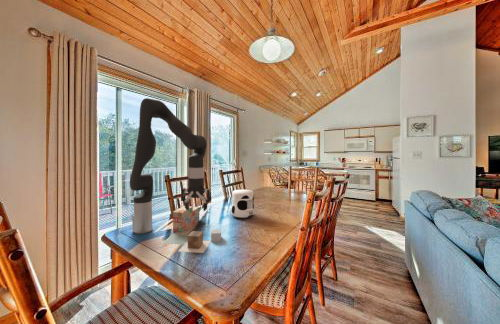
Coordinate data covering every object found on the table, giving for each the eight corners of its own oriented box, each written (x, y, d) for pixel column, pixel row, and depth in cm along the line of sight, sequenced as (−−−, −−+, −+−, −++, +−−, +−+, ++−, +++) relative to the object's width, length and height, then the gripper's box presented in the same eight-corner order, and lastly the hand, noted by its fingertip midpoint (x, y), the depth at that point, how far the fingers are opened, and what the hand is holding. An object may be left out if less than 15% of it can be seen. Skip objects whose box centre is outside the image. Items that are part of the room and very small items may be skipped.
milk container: (233, 211, 151) (234, 188, 150) (256, 213, 149) (256, 189, 148) (228, 219, 134) (228, 193, 133) (253, 221, 132) (253, 194, 131)
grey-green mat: (161, 244, 98) (161, 243, 98) (172, 234, 109) (172, 233, 108) (183, 245, 97) (183, 244, 97) (191, 236, 108) (191, 234, 107)
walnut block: (187, 248, 93) (187, 235, 93) (192, 242, 98) (192, 231, 98) (199, 248, 92) (199, 236, 92) (203, 243, 98) (203, 231, 98)
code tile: (178, 252, 90) (178, 251, 90) (188, 240, 102) (188, 239, 102) (203, 254, 89) (203, 252, 89) (211, 241, 101) (211, 240, 101)
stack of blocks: (191, 219, 133) (190, 201, 132) (199, 220, 132) (199, 202, 131) (172, 232, 112) (172, 211, 111) (182, 233, 111) (182, 212, 110)
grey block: (211, 243, 100) (211, 233, 100) (211, 238, 105) (211, 229, 104) (221, 242, 101) (221, 233, 100) (220, 238, 106) (220, 229, 105)
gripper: (178, 177, 91) (178, 211, 92) (208, 178, 90) (208, 213, 91) (185, 175, 98) (185, 207, 99) (212, 176, 97) (212, 208, 98)
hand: (196, 210), depth 95 cm, fingers open, 8 cm apart
